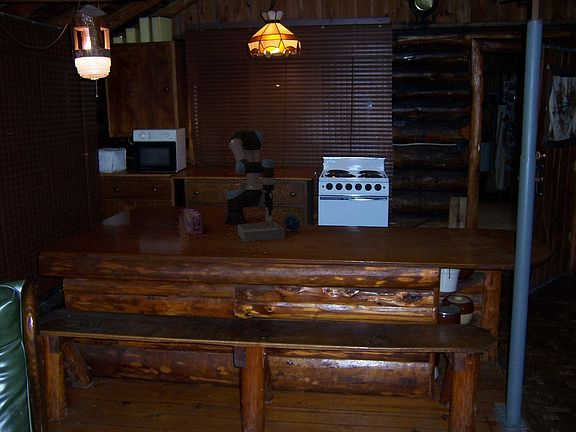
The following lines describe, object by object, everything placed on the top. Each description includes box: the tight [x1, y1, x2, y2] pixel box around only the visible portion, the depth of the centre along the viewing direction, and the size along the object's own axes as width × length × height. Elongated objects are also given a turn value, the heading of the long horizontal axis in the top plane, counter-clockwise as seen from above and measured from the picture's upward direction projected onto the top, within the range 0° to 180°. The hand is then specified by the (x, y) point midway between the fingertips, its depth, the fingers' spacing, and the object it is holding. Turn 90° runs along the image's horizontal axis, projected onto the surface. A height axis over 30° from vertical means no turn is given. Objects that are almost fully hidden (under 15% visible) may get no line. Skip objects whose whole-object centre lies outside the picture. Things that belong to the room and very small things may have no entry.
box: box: [237, 221, 286, 242], centre depth 370 cm, size 22×26×6 cm
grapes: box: [283, 213, 302, 233], centre depth 379 cm, size 12×7×12 cm, turn 82°
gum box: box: [183, 207, 203, 235], centre depth 385 cm, size 24×8×14 cm, turn 22°
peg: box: [265, 207, 273, 227], centre depth 369 cm, size 4×4×12 cm
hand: (269, 219), depth 369 cm, fingers closed on peg, 4 cm apart
